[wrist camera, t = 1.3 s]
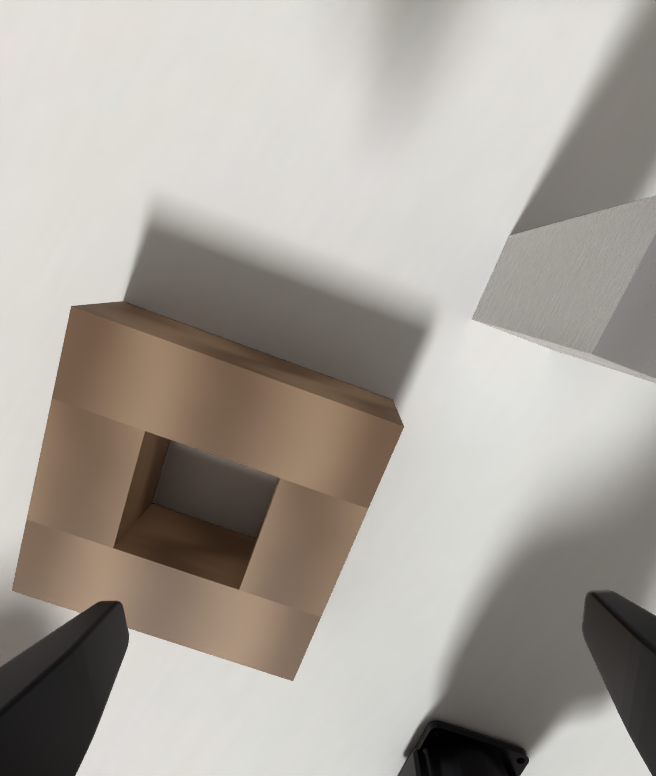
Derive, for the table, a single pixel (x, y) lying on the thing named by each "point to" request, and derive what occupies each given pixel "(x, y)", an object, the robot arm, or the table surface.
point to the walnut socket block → (184, 533)
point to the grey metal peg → (582, 288)
